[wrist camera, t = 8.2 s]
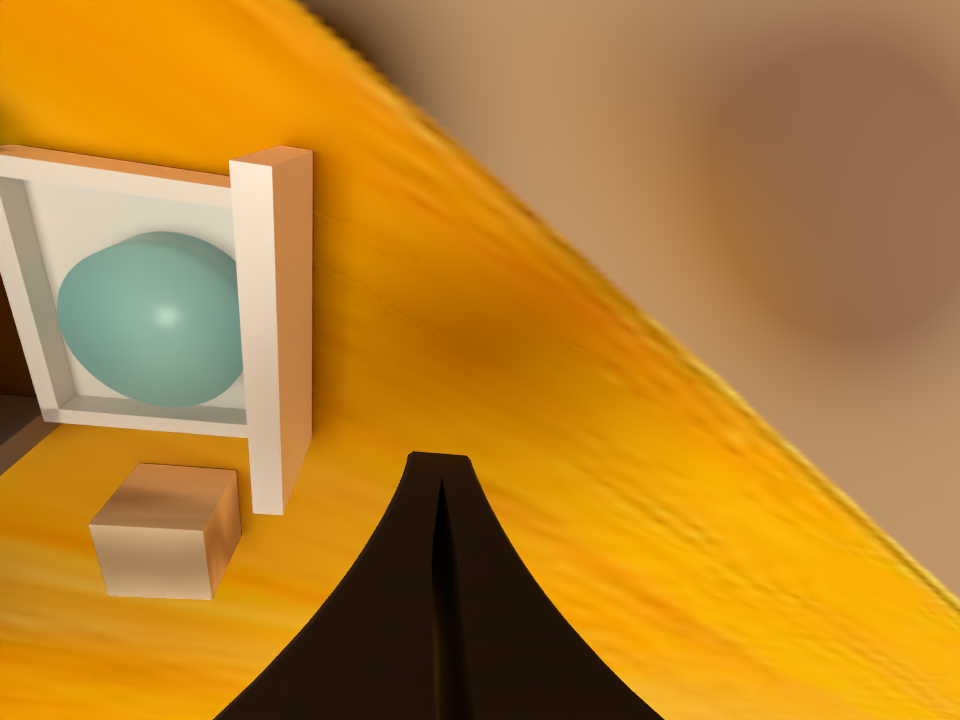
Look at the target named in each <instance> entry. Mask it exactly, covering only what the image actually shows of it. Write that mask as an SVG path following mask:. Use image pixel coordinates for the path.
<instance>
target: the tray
mask: <svg viewBox="0 0 960 720" xmlns="http://www.w3.org/2000/svg"><path fill="white" fill-rule="evenodd" d="M229 167H230V176H224V175H217V174H211V173H204V172H197V171H190V170H184V169H177V168H170V167H163V166H157V165H150V164H143V163H136V162H130V161H123V160H116V159H109V158H103V157H96V156H89V155H82V154H76V153H69V152H62V151H55V150H49V149H42V148H35V147H28V146H22V145H15V144H12V145H3V146H0V272H1V276H2V279H3V283H4V286H5V290H6V293H7V296H8V300H9V303H10V307H11V310H12V313H13V317H14V320H15V324H16V327H17V331H18V334H19V337H20V341H21V344H22V348H23V351H24V354H25V358H26V361H27V365H28V368H29V372H30V375H31V378H32V382H33V385H34V389H35V392H36V395H37V399H38V402H39V406H40V409H41V413H42V416H43V419H44V422H56V423H68V424H80V425H93V426H105V427H117V428H130V429H142V430H154V431H167V432H179V433H191V434H204V435H216V436H228V437H241V438H248V446H249V461H250V475H251V490H252V505H253V513H255V514H271V515H283V514H284V511H285V508H286V506H287V503H288V500H289V498H290V495H291V493H292V490H293V487H294V485H295V482H296V479H297V477H298V474H299V471H300V469H301V466H302V464H303V461H304V458H305V456H306V453H307V450H308V448H309V445H310V442H311V440H312V229H313V150H308V149H301V148H295V147H289V146H283V145H280V146H276V147H273V148H269V149H266V150H262V151H259V152H255V153H252V154H248V155H245V156H241V157H238V158H234V159H231V160H229ZM160 231H165V232H176V233H181V234H186V235H189V236H193V237H196V238H199V239H201V240H203V241H205V242H208V243H210V244H212V245H213V246H215V247H217V248H219V249H220V250H222V251H223V252H224V253H226V254H227V255H229V256H230V257H231V258H232V259H233V260H234V261H236V270H237V285H238V299H239V314H240V329H241V343H242V358H243V371H242V373H241V374H240V375H239V377H238V378H237V379H236V381H235V382H234V383H233V384H232V386H231V387H230V388H228V389H227V390H226V391H225V392H224V393H222V394H221V395H219V396H218V397H216V398H214V399H212V400H210V401H207V402H205V403H201V404H198V405H193V406H187V407H163V406H156V405H151V404H147V403H143V402H139V401H137V400H134V399H131V398H128V397H126V396H124V395H122V394H120V393H118V392H116V391H114V390H112V389H111V388H109V387H107V386H106V385H104V384H103V383H102V382H100V381H99V380H97V379H96V378H95V377H94V376H93V375H92V374H90V373H89V372H88V371H87V370H86V369H85V368H84V367H83V366H82V365H81V364H80V362H79V361H78V360H77V359H76V357H75V356H74V355H73V354H72V352H71V350H70V349H69V347H68V345H67V344H66V342H65V339H64V337H63V335H62V333H61V329H60V326H59V323H58V316H57V298H58V293H59V289H60V287H61V284H62V282H63V280H64V278H65V277H66V275H67V274H68V272H69V271H70V270H71V269H72V268H73V267H74V266H75V265H76V264H77V263H79V262H80V261H81V260H83V259H84V258H86V257H88V256H90V255H92V254H94V253H96V252H98V251H100V250H103V249H105V248H107V247H110V246H112V245H114V244H117V243H119V242H121V241H123V240H126V239H128V238H130V237H133V236H136V235H139V234H143V233H148V232H160Z"/></svg>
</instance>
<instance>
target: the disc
mask: <svg viewBox="0 0 960 720" xmlns="http://www.w3.org/2000/svg"><path fill="white" fill-rule="evenodd" d="M57 316H58V323H59V326H60V329H61V333H62V335H63V337H64V339H65V342H66V344H67V345H68V347H69V349H70V350H71V352H72V354H73V355H74V356H75V357H76V359H77V360H78V361H79V362H80V364H81V365H82V366H83V367H84V368H85V369H86V370H87V371H88V372H89V373H90V374H92V375H93V376H94V377H95V378H96V379H97V380H99V381H100V382H102V383H103V384H104V385H106V386H107V387H109V388H111V389H112V390H114V391H116V392H118V393H120V394H122V395H124V396H126V397H128V398H131V399H134V400H137V401H139V402H143V403H147V404H151V405H156V406H163V407H187V406H193V405H198V404H201V403H205V402H207V401H210V400H212V399H214V398H216V397H218V396H219V395H221V394H222V393H224V392H225V391H226V390H227V389H228V388H230V387H231V386H232V384H233V383H234V382H235V381H236V379H237V378H238V377H239V375H240V374H241V373H242V371H243V358H242V343H241V329H240V314H239V299H238V285H237V270H236V261H234V260H233V259H232V258H231V257H230V256H229V255H227V254H226V253H224V252H223V251H222V250H220V249H219V248H217V247H215V246H213V245H212V244H210V243H208V242H205V241H203V240H201V239H199V238H196V237H193V236H189V235H186V234H181V233H176V232H165V231H160V232H148V233H143V234H139V235H136V236H133V237H130V238H128V239H126V240H123V241H121V242H119V243H117V244H114V245H112V246H110V247H107V248H105V249H103V250H100V251H98V252H96V253H94V254H92V255H90V256H88V257H86V258H84V259H83V260H81V261H80V262H79V263H77V264H76V265H75V266H74V267H73V268H72V269H71V270H70V271H69V272H68V274H67V275H66V277H65V278H64V280H63V282H62V284H61V287H60V289H59V293H58V298H57Z"/></svg>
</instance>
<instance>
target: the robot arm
mask: <svg viewBox="0 0 960 720" xmlns="http://www.w3.org/2000/svg"><path fill="white" fill-rule="evenodd" d="M213 720H664V719H663V718H662V717H661V716H660V715H659V714H658V713H656V712H655V711H654V710H653V709H652V708H651V707H650V706H649V705H647V704H646V703H645V702H644V701H643V700H642V699H641V698H640V697H639V696H637V695H636V694H635V693H634V692H633V691H632V690H631V689H630V688H629V687H628V686H627V685H626V684H625V683H624V682H623V681H622V680H621V679H620V678H619V677H618V676H617V675H616V674H615V673H614V672H613V671H612V670H611V669H610V668H609V667H608V666H607V665H606V664H605V663H604V662H603V661H602V660H601V659H600V658H599V657H598V655H597V654H596V653H595V652H594V651H593V650H592V649H591V648H590V647H589V645H588V644H587V643H586V642H585V641H584V640H583V639H582V638H581V636H580V635H579V634H578V633H577V632H576V631H575V630H574V629H573V628H572V626H571V625H570V624H569V623H568V622H567V621H566V619H565V618H564V617H563V616H562V615H561V613H560V612H559V611H558V609H557V608H556V607H555V606H554V604H553V603H552V602H551V601H550V599H549V598H548V597H547V595H546V594H545V593H544V591H543V590H542V589H541V587H540V586H539V585H538V583H537V582H536V581H535V579H534V578H533V576H532V575H531V573H530V572H529V570H528V569H527V567H526V566H525V564H524V563H523V561H522V560H521V558H520V557H519V555H518V554H517V552H516V550H515V549H514V547H513V546H512V544H511V542H510V541H509V539H508V537H507V536H506V534H505V532H504V530H503V529H502V527H501V525H500V523H499V521H498V519H497V517H496V516H495V514H494V512H493V510H492V508H491V506H490V504H489V502H488V500H487V498H486V496H485V494H484V492H483V490H482V488H481V485H480V483H479V481H478V478H477V476H476V474H475V471H474V468H473V466H472V463H471V460H470V459H469V458H468V457H467V456H464V455H452V454H440V453H427V452H415V451H413V452H412V453H410V454H409V455H408V457H407V463H406V466H405V470H404V473H403V475H402V478H401V480H400V483H399V485H398V487H397V490H396V492H395V494H394V496H393V498H392V500H391V502H390V504H389V506H388V508H387V510H386V512H385V514H384V515H383V517H382V519H381V521H380V523H379V524H378V526H377V528H376V529H375V531H374V532H373V534H372V536H371V537H370V539H369V541H368V542H367V544H366V546H365V547H364V549H363V550H362V552H361V553H360V555H359V556H358V558H357V559H356V561H355V562H354V564H353V565H352V567H351V568H350V569H349V571H348V572H347V573H346V575H345V576H344V578H343V579H342V580H341V582H340V583H339V584H338V586H337V587H336V588H335V590H334V591H333V592H332V593H331V595H330V596H329V597H328V598H327V600H326V601H325V602H324V603H323V605H322V606H321V607H320V608H319V610H318V611H317V612H316V613H315V615H314V616H313V617H312V618H311V619H310V620H309V622H308V623H307V624H306V625H305V626H304V627H303V629H302V630H301V631H300V632H299V633H298V634H297V635H296V636H295V637H294V638H293V640H292V641H291V642H290V643H289V644H288V645H287V646H286V647H285V648H284V649H283V650H282V651H281V653H280V654H279V655H278V656H277V657H276V658H275V659H274V660H273V661H272V662H271V663H270V664H269V665H268V667H267V668H266V669H265V670H264V671H263V672H262V673H261V674H260V675H259V676H258V677H257V678H256V679H255V680H254V681H253V682H252V683H251V684H250V685H249V686H248V687H247V688H246V689H244V690H243V691H242V692H241V693H240V694H239V695H238V696H237V697H236V698H235V699H234V700H233V701H232V702H231V703H230V704H229V705H228V706H227V707H226V708H225V709H224V710H222V711H221V712H220V713H219V714H218V715H217V716H216V717H215V718H214V719H213Z"/></svg>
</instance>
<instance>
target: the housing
mask: <svg viewBox="0 0 960 720" xmlns="http://www.w3.org/2000/svg"><path fill="white" fill-rule="evenodd" d="M60 424H61V423H56V422H44V419H43V416H42V413H41V409H40V406H39V402H38V399H37V397H28V396H17V395H5V394H0V476H1V475H2V474H3V473H4V472H5V471H6V470H8V469H9V468H10V467H11V466H12V465H13V464H15V463H16V462H17V461H18V460H19V459H20V458H22V457H23V456H24V455H25V454H26V453H27V452H29V451H30V450H31V449H32V448H33V447H34V446H36V445H37V444H38V443H39V442H40V441H41V440H43V439H44V438H45V437H46V436H47V435H48V434H50V433H51V432H52V431H53V430H54V429H56V428H57V427H58V426H59V425H60Z"/></svg>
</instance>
